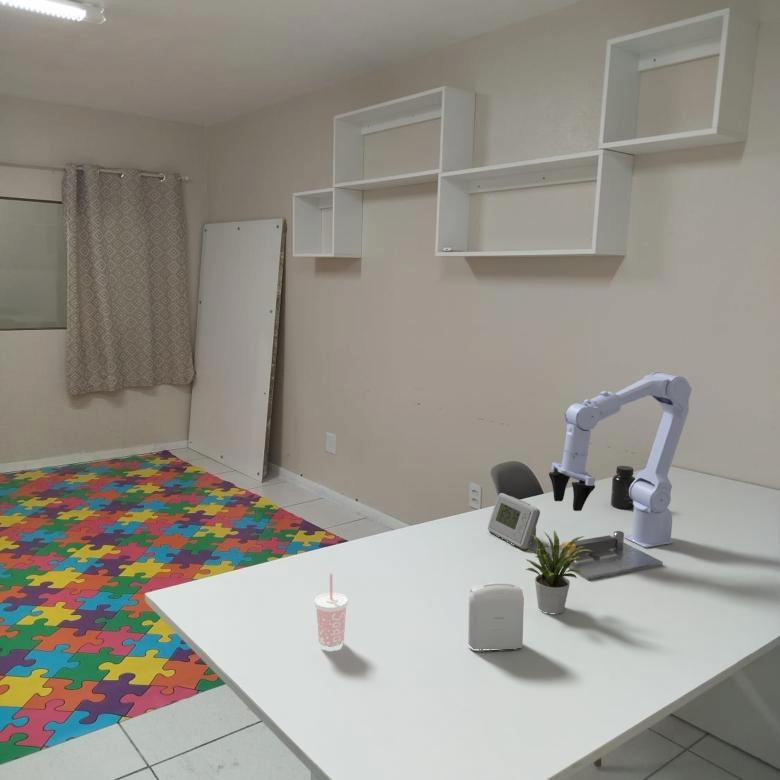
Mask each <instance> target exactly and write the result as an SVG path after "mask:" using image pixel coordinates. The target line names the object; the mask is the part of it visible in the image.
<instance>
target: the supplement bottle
mask: <svg viewBox="0 0 780 780" xmlns="http://www.w3.org/2000/svg"><path fill="white" fill-rule="evenodd" d="M615 473H616V474H615V475H613V477H612V481H611V497H610V504H611V505H610V506H612V507H613V508H615V509H619V510H632V509H634V505H633V500H632V499H631V498H630V496H629V488H630V486H631V484H632V483H633V482H634V480H635V479H636V477H635V476H634V474H635V473H634V468H633V467H631V466H629V465H628V466H627V465H618V466H617V467H616V472H615Z"/></svg>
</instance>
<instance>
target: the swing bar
mask: <svg viewBox="0 0 780 780" xmlns="http://www.w3.org/2000/svg"><path fill="white" fill-rule="evenodd" d="M569 542H570V541H563V542H562V543H561V545H562V550H563V548H564V547H566V546H567V544H568V543H569ZM615 542H616V538H614V536H611V535H609V534H608V535H603V536H597V537H591V538H587V539H586V538H585V539H578V540H577V541H576V542H575V543H574V544H573V545H572V546H571V547H570V549H569V550H568V552H569V551H571V552H569V553H568V554H567V555H566V556H570V554H571V553H572V552H573V551H574V550H575V549H576V548H578V547H581V546H585V547H582V548H580V549H579V550H582V549H587V550H591V551H581V552H578V553H576V554H574V555H573V556H575V555H580V554H585V553H591V552H597V551H602V550H608V549H613V548H615ZM572 550H573V551H572ZM579 550H578V551H579Z"/></svg>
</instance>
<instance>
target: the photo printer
mask: <svg viewBox="0 0 780 780" xmlns="http://www.w3.org/2000/svg"><path fill="white" fill-rule="evenodd" d="M469 591H470V592H469V597H468V631H467V632H468V633H467V634H468V638H467V639H468V641H467V642H468V643H467V644H469V645H470V646H471V647H472V648H473V649H479V650H480V649H481V650H483V649H490V650H491V649H514V650H516V649H515V648H521V649H522V647H523V644H524V642H523V640H524V639H523V638H524V611H525V610H524V604H525V603H524V601H525V597H524V592H523V589H522V588H521V586H520V585H517V584H513V583H507V582H491V583H490V582H489V583H484V584H479V585H477V586H474V587H472V588H470V590H469Z"/></svg>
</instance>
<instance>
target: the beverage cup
mask: <svg viewBox="0 0 780 780" xmlns="http://www.w3.org/2000/svg"><path fill="white" fill-rule="evenodd" d="M347 606H348V597H347V596H346V595H345V594H342V593H339V592H333V573H330V574H329V592H327V593H326V592H325V593H321V594H320V595H317V596H316V597H315V598H314V607H315V608H316V622H317V635H318V644H319V643H320V644H321V645H323V646H328V647H334V646H338V645H340V644H342V643H343V642H344V643H345V628H346V614H347V613H346V612H347Z"/></svg>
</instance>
